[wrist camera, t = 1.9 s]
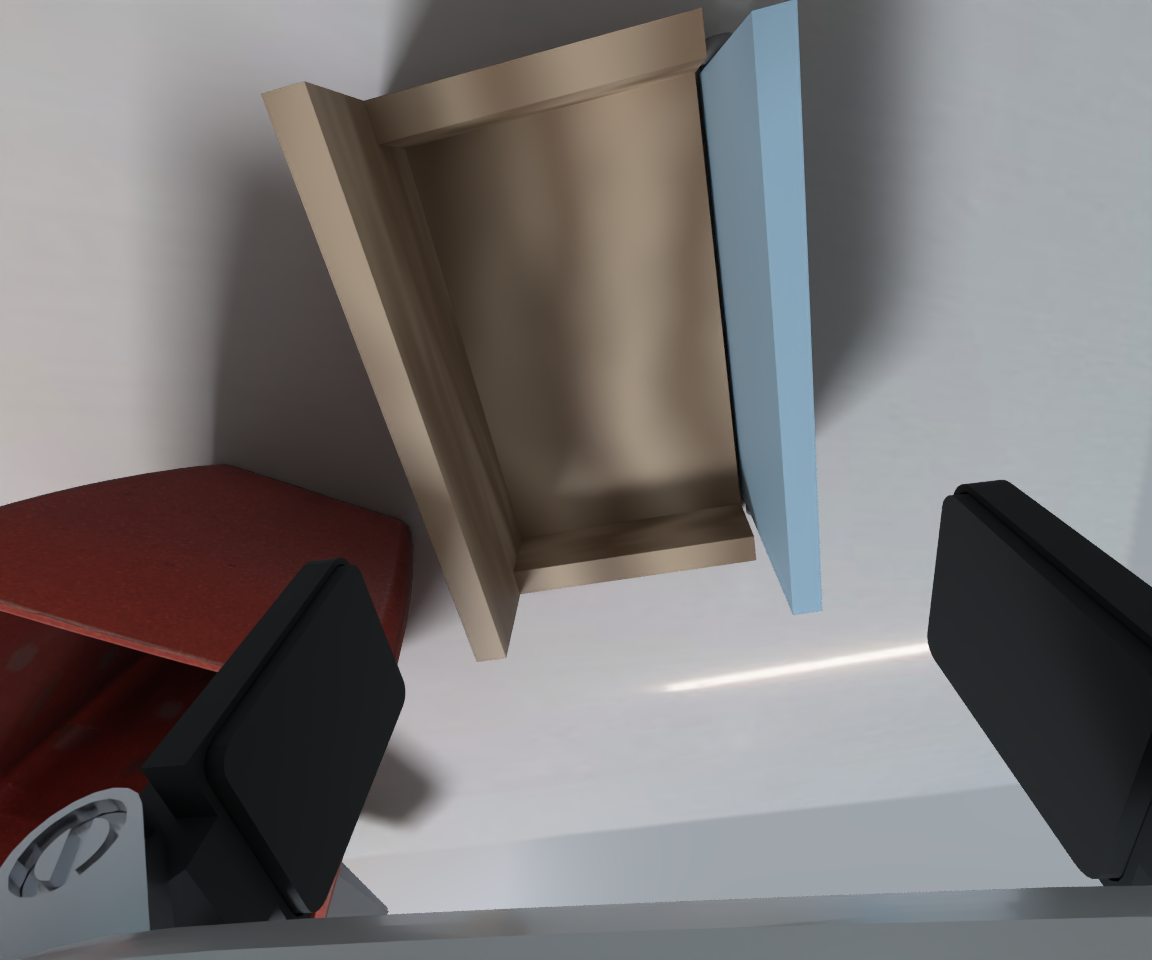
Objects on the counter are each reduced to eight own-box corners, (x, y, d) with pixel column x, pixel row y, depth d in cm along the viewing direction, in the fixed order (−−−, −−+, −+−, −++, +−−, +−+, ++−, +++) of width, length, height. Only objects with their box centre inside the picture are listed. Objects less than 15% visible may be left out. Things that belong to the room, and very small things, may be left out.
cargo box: (728, 26, 25) (792, -58, 16) (768, 508, 36) (821, 617, 27) (374, 122, 28) (260, 93, 19) (508, 548, 38) (476, 661, 29)
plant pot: (160, 390, 34) (-191, 552, 19) (476, 493, 36) (382, 714, 21) (154, 629, 43) (-93, 872, 28) (412, 702, 45) (311, 966, 30)
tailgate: (726, 68, 26) (797, -2, 16) (762, 489, 35) (822, 610, 25) (698, 75, 26) (751, 10, 16) (741, 492, 35) (793, 615, 25)
